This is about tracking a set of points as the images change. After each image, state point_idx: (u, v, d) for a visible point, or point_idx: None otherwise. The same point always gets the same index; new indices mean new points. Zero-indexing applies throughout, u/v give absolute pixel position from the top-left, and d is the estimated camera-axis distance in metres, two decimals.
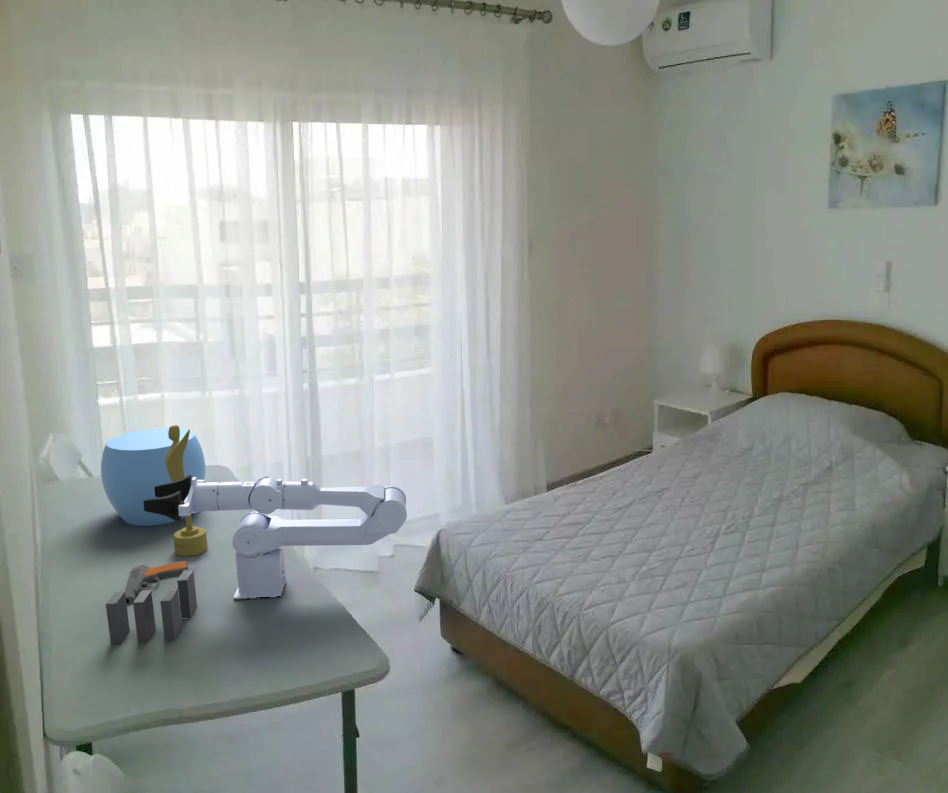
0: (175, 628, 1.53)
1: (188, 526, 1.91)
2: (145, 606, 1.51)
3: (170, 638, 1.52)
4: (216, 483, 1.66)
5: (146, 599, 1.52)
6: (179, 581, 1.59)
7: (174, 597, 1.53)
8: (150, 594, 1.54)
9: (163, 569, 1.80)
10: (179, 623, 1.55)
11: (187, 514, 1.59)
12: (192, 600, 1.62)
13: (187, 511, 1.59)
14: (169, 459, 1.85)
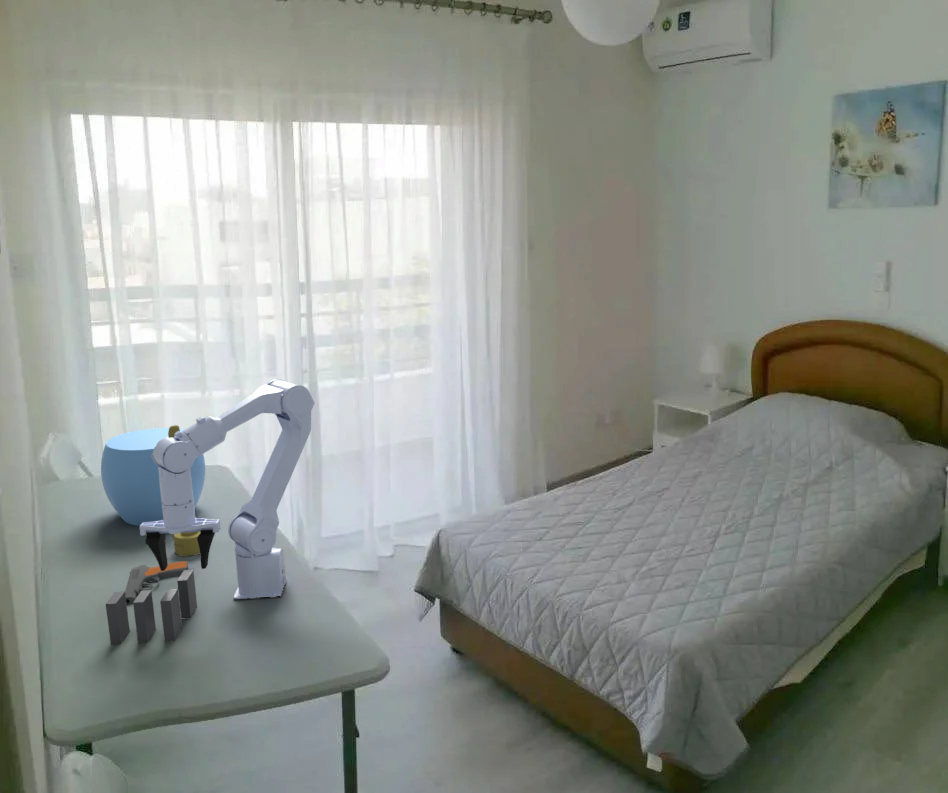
0: (175, 628, 1.53)
1: None
2: (145, 606, 1.51)
3: (170, 638, 1.52)
4: (174, 508, 1.55)
5: (147, 599, 1.52)
6: (179, 581, 1.59)
7: (174, 597, 1.53)
8: (150, 594, 1.54)
9: None
10: (179, 623, 1.55)
11: (219, 521, 1.60)
12: (192, 600, 1.62)
13: (218, 522, 1.59)
14: None
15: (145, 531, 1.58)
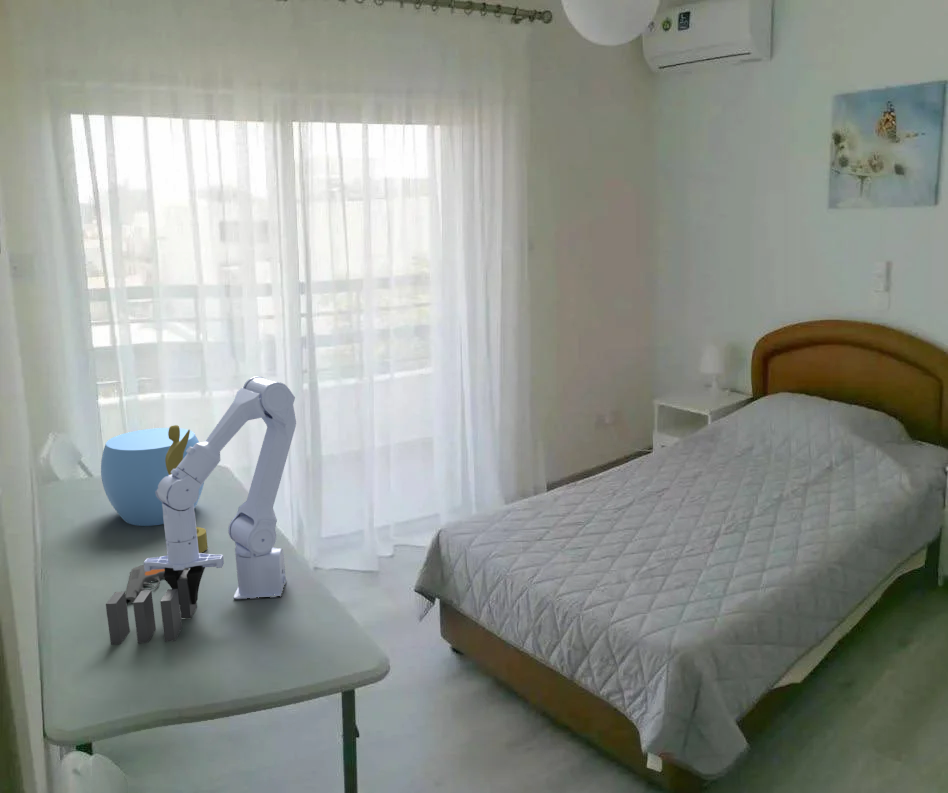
0: (175, 628, 1.53)
1: None
2: (145, 606, 1.51)
3: (170, 638, 1.52)
4: (178, 544, 1.57)
5: (146, 599, 1.52)
6: (179, 581, 1.59)
7: (174, 597, 1.53)
8: (150, 594, 1.54)
9: (163, 569, 1.80)
10: (179, 623, 1.55)
11: (222, 556, 1.61)
12: None
13: (222, 557, 1.61)
14: (169, 459, 1.85)
15: (149, 567, 1.59)
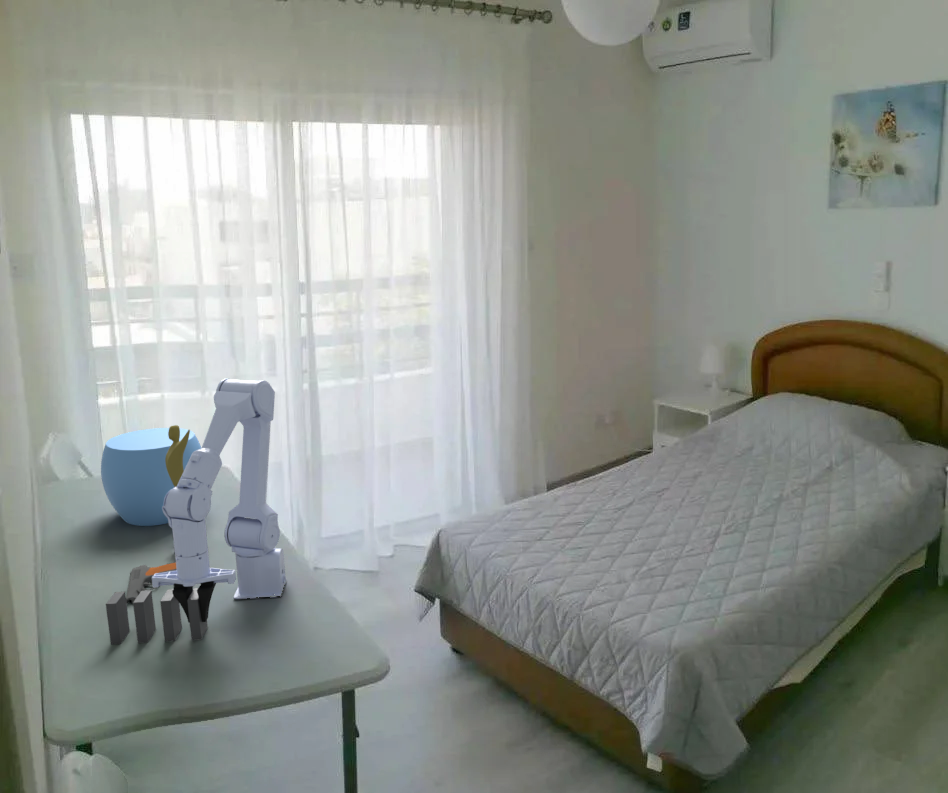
0: (175, 628, 1.53)
1: None
2: (145, 606, 1.51)
3: (170, 638, 1.52)
4: (188, 559, 1.48)
5: (146, 599, 1.52)
6: (189, 600, 1.51)
7: (174, 597, 1.53)
8: (150, 594, 1.54)
9: (164, 569, 1.80)
10: (179, 623, 1.55)
11: None
12: None
13: (234, 572, 1.53)
14: (169, 459, 1.85)
15: (157, 583, 1.51)
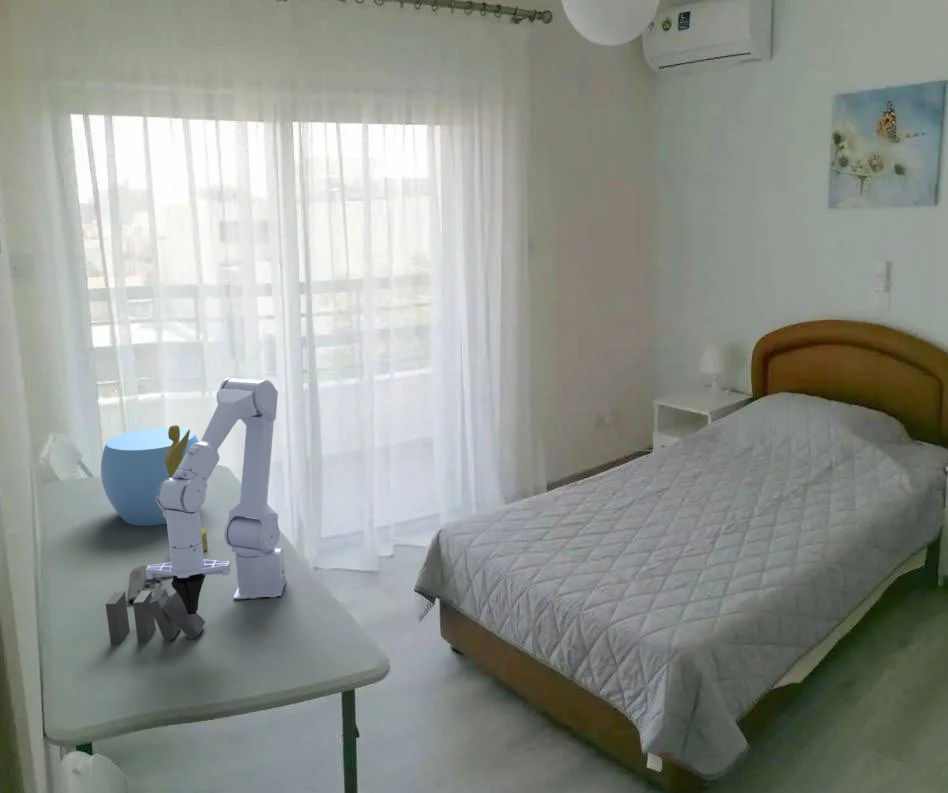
0: (172, 626, 1.53)
1: None
2: (145, 606, 1.51)
3: (169, 637, 1.52)
4: (182, 551, 1.48)
5: (146, 599, 1.52)
6: (164, 608, 1.51)
7: (162, 597, 1.53)
8: (150, 594, 1.54)
9: None
10: None
11: (229, 563, 1.53)
12: (192, 618, 1.54)
13: (228, 564, 1.52)
14: (169, 459, 1.85)
15: (152, 574, 1.51)
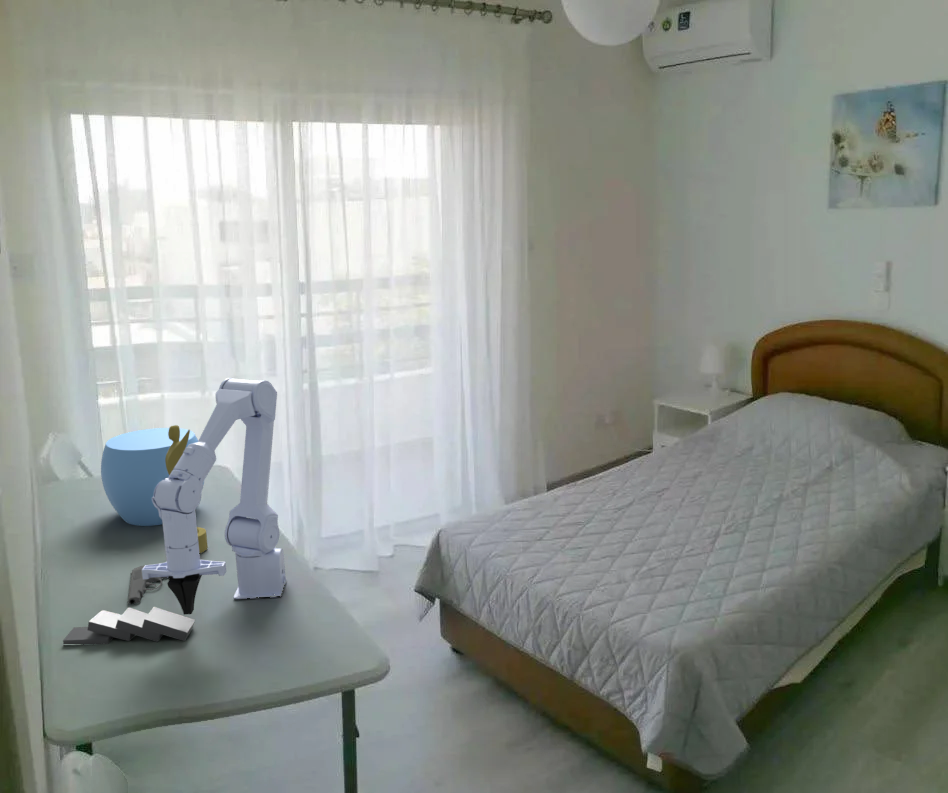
0: None
1: None
2: (98, 620, 1.53)
3: (156, 636, 1.52)
4: (178, 551, 1.48)
5: (96, 617, 1.54)
6: (143, 626, 1.51)
7: (125, 614, 1.53)
8: (102, 612, 1.56)
9: None
10: None
11: (225, 563, 1.53)
12: (176, 622, 1.53)
13: (224, 564, 1.52)
14: (169, 459, 1.85)
15: (148, 575, 1.51)
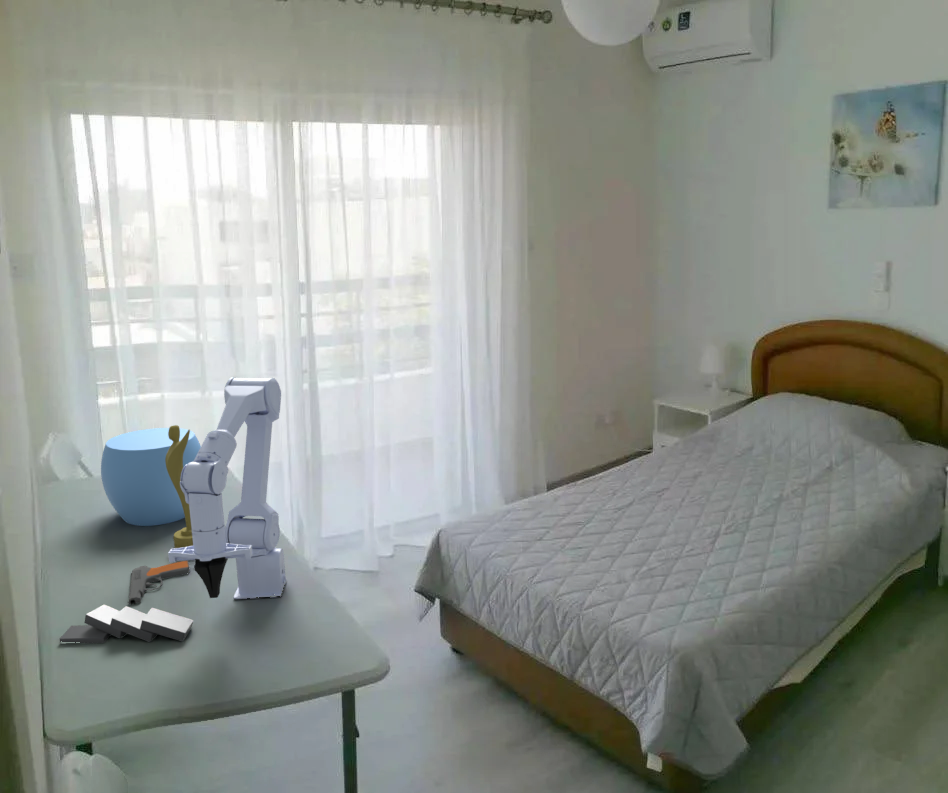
0: None
1: (188, 526, 1.91)
2: (95, 614, 1.55)
3: (148, 636, 1.51)
4: (205, 534, 1.48)
5: (95, 610, 1.56)
6: (141, 627, 1.51)
7: (121, 613, 1.54)
8: (103, 606, 1.58)
9: (165, 569, 1.80)
10: None
11: (251, 546, 1.52)
12: (174, 622, 1.53)
13: (250, 548, 1.52)
14: (169, 459, 1.85)
15: (174, 558, 1.50)
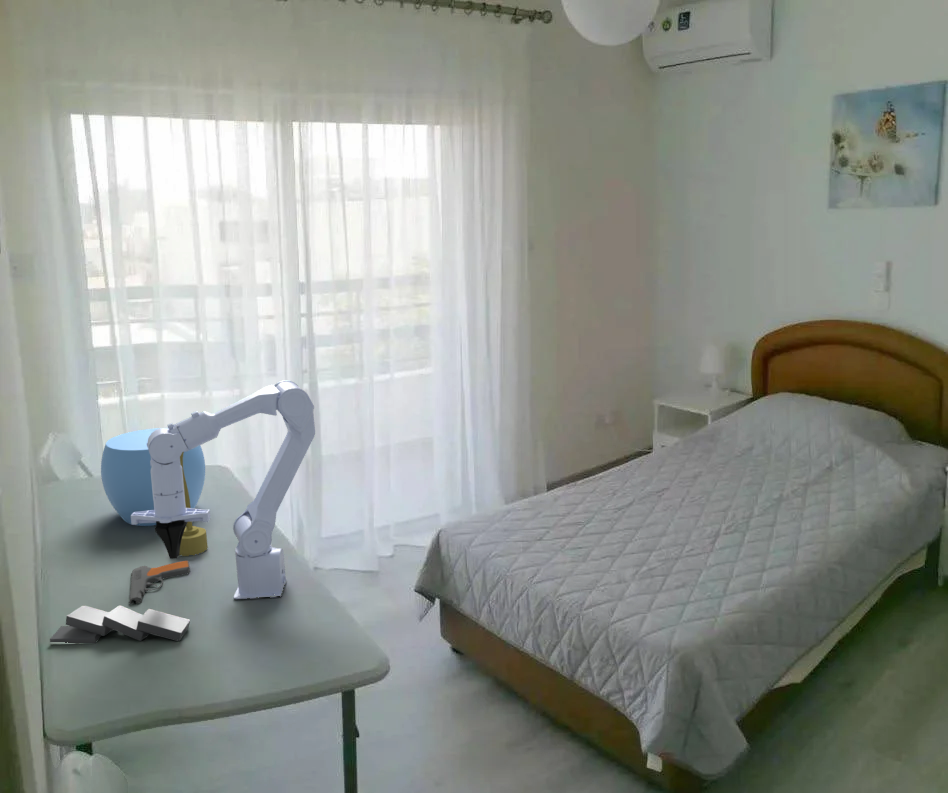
0: None
1: (188, 526, 1.91)
2: (76, 615, 1.54)
3: (139, 635, 1.52)
4: (165, 497, 1.58)
5: (75, 611, 1.55)
6: (137, 628, 1.51)
7: (114, 611, 1.54)
8: (83, 607, 1.57)
9: (165, 569, 1.80)
10: None
11: (209, 511, 1.63)
12: (171, 622, 1.53)
13: (208, 512, 1.62)
14: None
15: (136, 520, 1.60)
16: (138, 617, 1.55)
